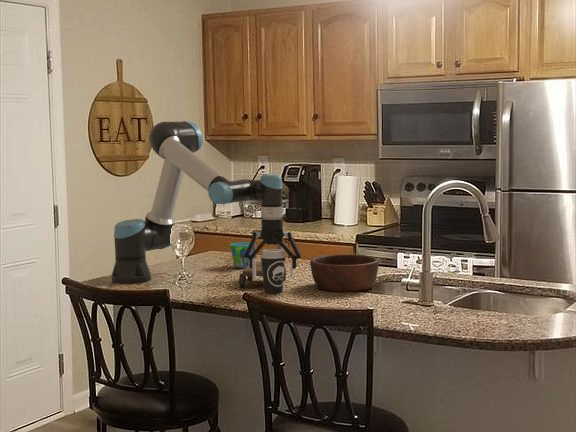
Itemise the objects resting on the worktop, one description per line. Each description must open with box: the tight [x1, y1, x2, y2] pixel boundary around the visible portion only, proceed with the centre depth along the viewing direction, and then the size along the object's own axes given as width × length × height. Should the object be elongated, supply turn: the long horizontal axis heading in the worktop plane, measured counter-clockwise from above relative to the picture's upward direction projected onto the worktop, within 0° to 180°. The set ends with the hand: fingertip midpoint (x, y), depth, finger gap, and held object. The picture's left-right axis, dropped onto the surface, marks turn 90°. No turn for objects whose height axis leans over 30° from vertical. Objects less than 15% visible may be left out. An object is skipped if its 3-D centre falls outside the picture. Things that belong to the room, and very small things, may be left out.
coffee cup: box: [259, 248, 287, 295], centre depth 274 cm, size 10×10×15 cm
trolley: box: [238, 229, 287, 288], centre depth 290 cm, size 19×14×19 cm
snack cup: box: [229, 241, 253, 270], centre depth 326 cm, size 16×10×10 cm
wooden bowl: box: [309, 253, 380, 293], centre depth 282 cm, size 25×25×10 cm
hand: (273, 277), depth 275 cm, fingers open, 13 cm apart
